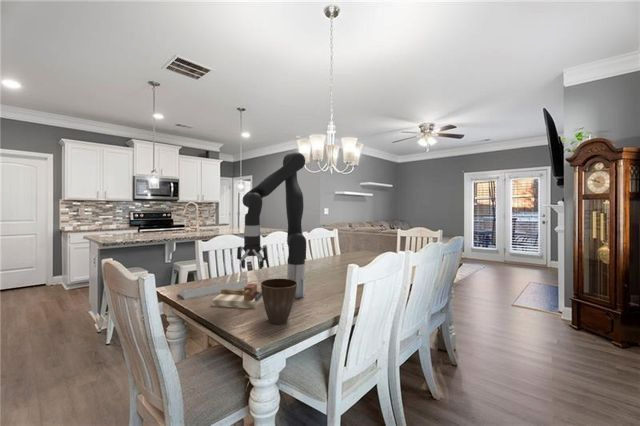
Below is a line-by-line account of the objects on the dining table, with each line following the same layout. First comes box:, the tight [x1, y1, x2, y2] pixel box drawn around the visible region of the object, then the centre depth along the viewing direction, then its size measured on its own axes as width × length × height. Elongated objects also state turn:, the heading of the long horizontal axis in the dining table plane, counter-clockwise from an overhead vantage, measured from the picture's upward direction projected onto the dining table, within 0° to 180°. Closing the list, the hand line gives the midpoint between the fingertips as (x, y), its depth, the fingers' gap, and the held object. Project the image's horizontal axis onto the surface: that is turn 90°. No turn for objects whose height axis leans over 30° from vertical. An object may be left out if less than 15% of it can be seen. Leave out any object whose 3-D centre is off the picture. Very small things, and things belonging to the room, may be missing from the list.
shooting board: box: [211, 289, 263, 309], centre depth 145 cm, size 21×11×5 cm, turn 85°
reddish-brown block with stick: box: [243, 283, 258, 300], centre depth 142 cm, size 4×12×6 cm, turn 175°
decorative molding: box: [178, 280, 249, 301], centre depth 164 cm, size 34×5×10 cm
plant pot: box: [260, 278, 297, 325], centre depth 124 cm, size 15×15×16 cm
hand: (252, 268), depth 144 cm, fingers open, 8 cm apart
